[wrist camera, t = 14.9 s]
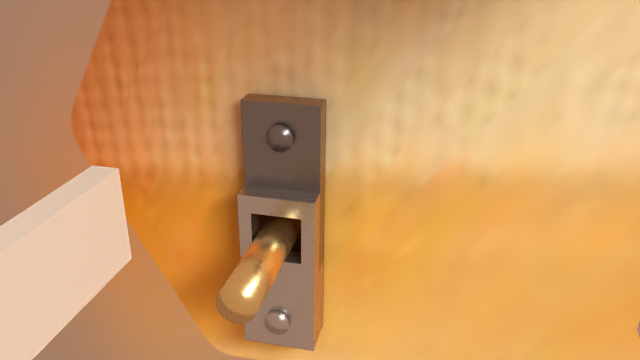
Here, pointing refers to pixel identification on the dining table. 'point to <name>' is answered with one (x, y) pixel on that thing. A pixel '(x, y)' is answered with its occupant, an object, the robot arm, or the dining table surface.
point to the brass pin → (257, 270)
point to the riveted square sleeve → (286, 211)
